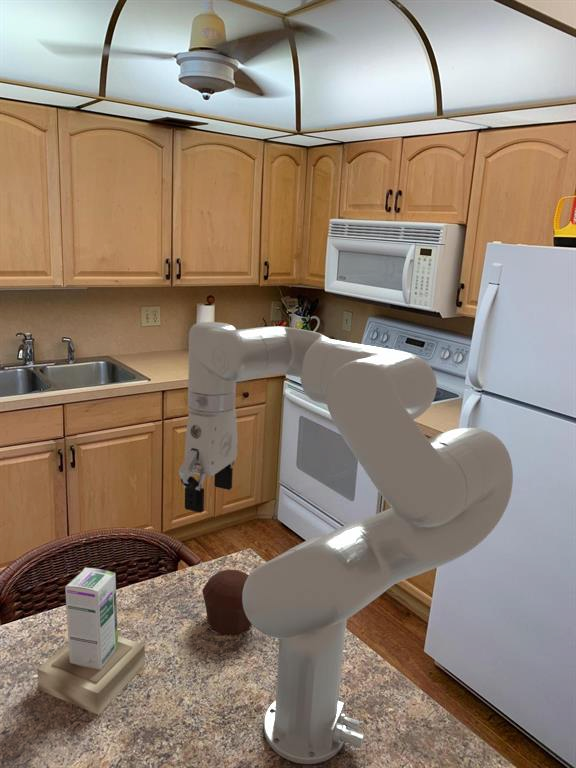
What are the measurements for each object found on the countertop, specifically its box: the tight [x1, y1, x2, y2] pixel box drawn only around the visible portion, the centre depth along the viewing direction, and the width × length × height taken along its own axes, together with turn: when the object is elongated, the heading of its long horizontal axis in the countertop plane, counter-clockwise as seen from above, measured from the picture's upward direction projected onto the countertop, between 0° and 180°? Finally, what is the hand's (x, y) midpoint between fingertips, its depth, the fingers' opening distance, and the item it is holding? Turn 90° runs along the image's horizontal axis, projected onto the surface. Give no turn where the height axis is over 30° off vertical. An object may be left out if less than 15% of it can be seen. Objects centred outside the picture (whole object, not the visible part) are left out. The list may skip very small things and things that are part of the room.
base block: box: [37, 635, 146, 716], centre depth 96 cm, size 12×12×4 cm
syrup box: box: [64, 567, 119, 670], centre depth 94 cm, size 6×6×14 cm
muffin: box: [202, 569, 253, 637], centre depth 111 cm, size 12×11×10 cm
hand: (209, 498), depth 96 cm, fingers open, 9 cm apart
